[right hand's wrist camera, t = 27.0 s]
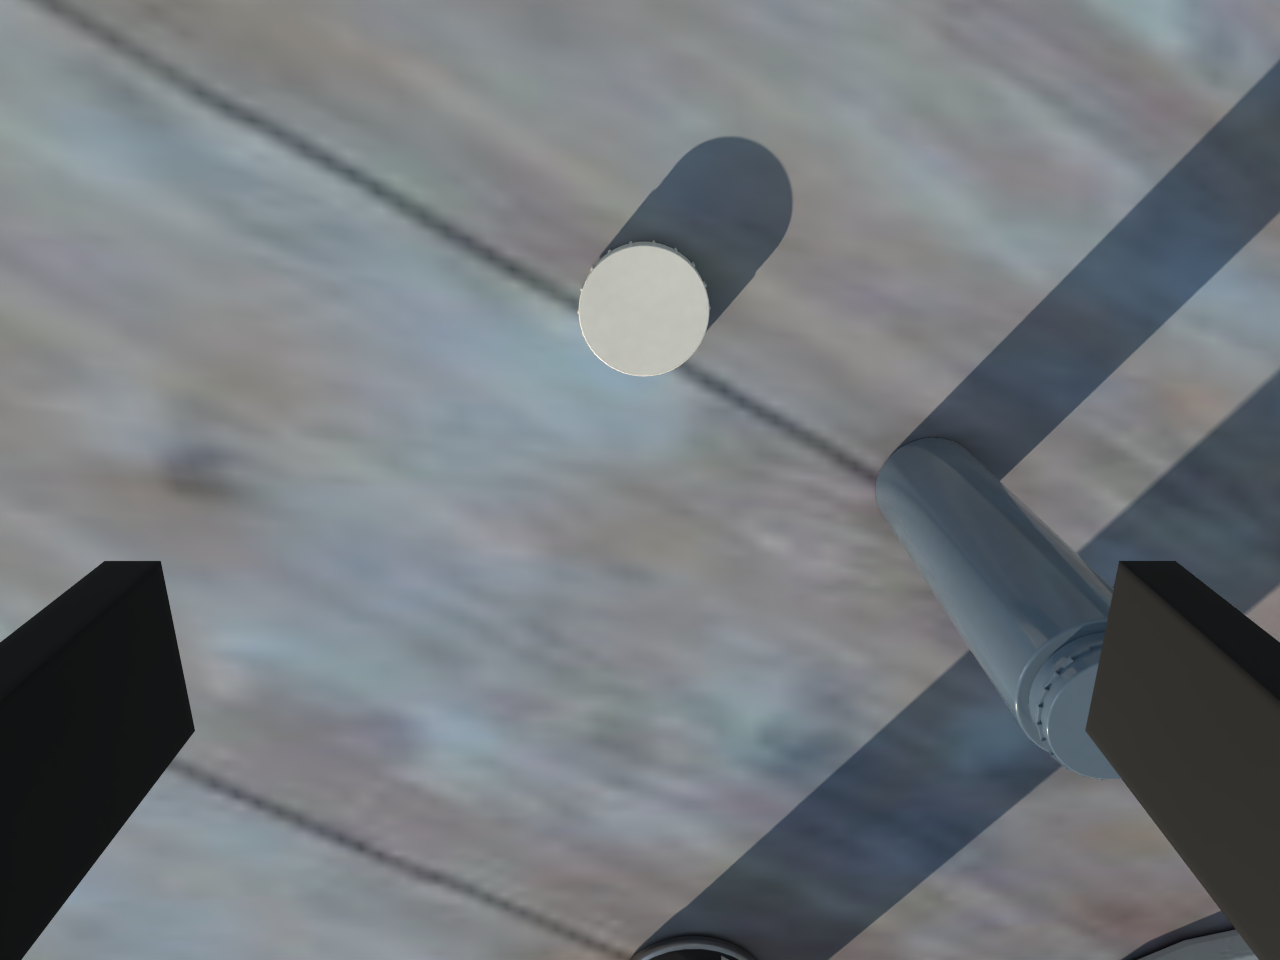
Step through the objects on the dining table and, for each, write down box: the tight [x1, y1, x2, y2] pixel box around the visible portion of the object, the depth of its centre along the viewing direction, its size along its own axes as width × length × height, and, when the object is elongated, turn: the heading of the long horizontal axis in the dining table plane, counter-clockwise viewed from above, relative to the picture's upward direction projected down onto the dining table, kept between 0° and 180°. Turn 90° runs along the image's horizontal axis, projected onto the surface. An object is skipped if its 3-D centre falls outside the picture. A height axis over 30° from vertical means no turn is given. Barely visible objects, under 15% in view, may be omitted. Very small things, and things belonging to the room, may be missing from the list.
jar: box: [875, 438, 1122, 780], centre depth 35 cm, size 5×5×19 cm
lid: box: [578, 240, 711, 376], centre depth 40 cm, size 6×6×2 cm
